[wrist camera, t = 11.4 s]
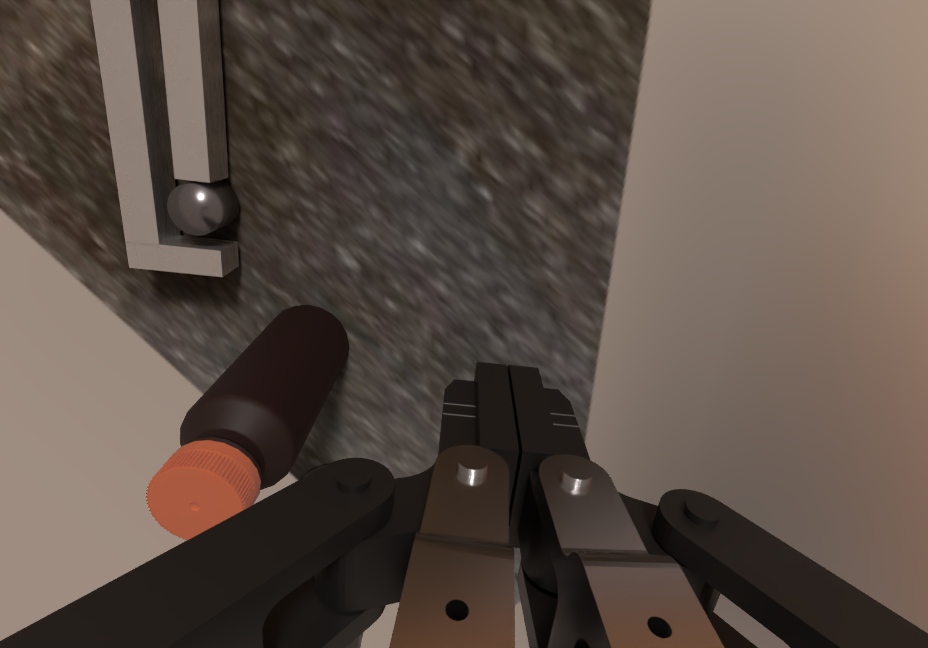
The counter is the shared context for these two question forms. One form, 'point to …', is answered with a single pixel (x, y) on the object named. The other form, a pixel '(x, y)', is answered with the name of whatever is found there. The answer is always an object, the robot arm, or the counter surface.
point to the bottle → (250, 422)
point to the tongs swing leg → (196, 115)
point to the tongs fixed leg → (146, 143)
